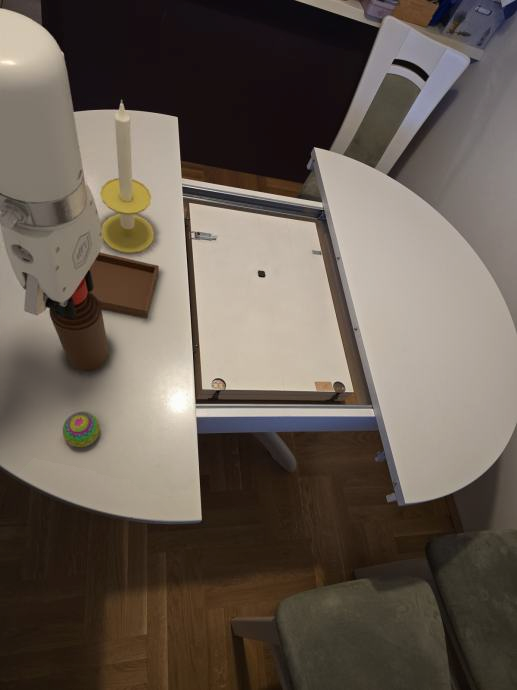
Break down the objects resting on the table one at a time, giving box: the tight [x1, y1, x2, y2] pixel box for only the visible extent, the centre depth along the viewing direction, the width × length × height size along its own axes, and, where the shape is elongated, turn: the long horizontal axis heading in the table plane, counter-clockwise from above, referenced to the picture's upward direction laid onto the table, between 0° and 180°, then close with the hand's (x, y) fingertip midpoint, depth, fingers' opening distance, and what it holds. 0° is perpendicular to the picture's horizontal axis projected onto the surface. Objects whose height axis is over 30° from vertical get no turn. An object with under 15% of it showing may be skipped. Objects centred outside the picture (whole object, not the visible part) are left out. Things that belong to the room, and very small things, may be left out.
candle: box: [100, 99, 155, 254], centre depth 66 cm, size 10×10×27 cm
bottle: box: [48, 292, 110, 372], centre depth 56 cm, size 6×6×20 cm
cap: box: [70, 277, 88, 305], centre depth 48 cm, size 4×4×3 cm
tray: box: [89, 251, 160, 319], centre depth 70 cm, size 13×10×2 cm
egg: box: [62, 411, 101, 448], centre depth 56 cm, size 5×5×6 cm
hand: (72, 298), depth 50 cm, fingers closed on cap, 3 cm apart
